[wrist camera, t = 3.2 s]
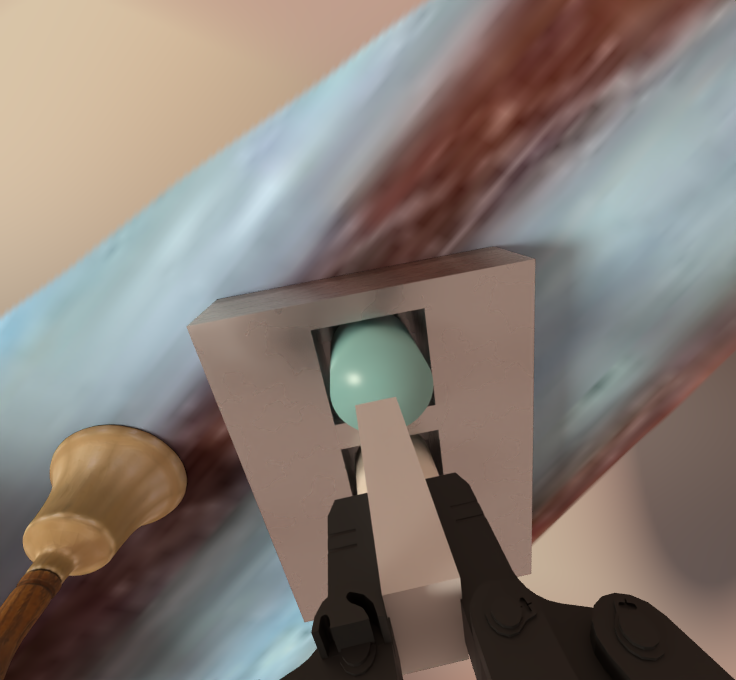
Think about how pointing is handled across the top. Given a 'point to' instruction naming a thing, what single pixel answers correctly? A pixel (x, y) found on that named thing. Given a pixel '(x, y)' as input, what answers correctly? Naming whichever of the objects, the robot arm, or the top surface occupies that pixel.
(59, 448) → the hand bell
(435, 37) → the top surface
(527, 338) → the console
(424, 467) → the ivory button
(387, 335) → the teal button
